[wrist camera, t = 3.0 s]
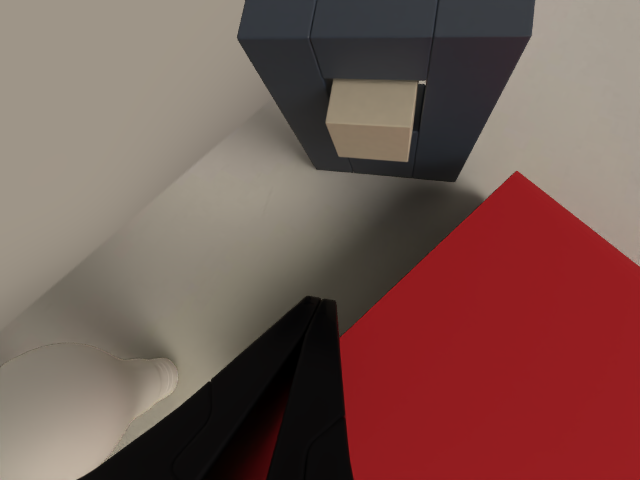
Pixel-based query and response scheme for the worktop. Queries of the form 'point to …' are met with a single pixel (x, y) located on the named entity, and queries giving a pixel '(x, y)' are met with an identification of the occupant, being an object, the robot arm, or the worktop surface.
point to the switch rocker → (372, 118)
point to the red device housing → (501, 354)
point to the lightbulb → (72, 408)
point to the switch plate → (389, 69)
